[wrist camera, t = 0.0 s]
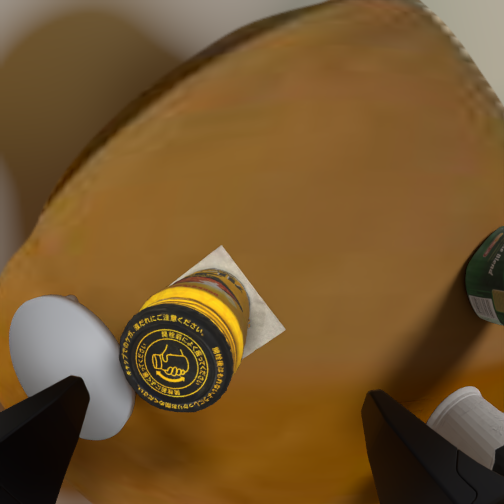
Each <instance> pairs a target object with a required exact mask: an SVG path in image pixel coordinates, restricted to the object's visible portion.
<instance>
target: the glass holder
mask: <svg viewBox="0 0 504 504" xmlns="http://www.w3.org/2000/svg"><path fill="white" fill-rule="evenodd" d="M427 425H428V426H429V427H430V428H432V429H433V430H434V431H436V432H437V433H438V434H440V435H441V436H442V437H444V438H445V439H446V440H448V441H449V442H450V443H452V444H453V445H454V446H456V447H457V450H458V449H460V450H461V451H463V452H464V453H465V454H467V455H468V456H470V457H471V458H472V459H474V460H475V461H477V462H478V463H480V464H482V465H483V466H485V467H487V468H488V469H490V470H492V471H494V472H496V473H498V474H500V475H501V476H503V477H504V413H501V412H500V411H499V410H498V409H496V408H495V407H494V406H492V405H491V404H490V403H489V402H487V401H486V400H485V399H483V398H482V396H481V393H480V392H479V390H478V389H477V388H475V387H472V386H468V387H464V388H461V389H459V390H457V391H455V392H454V393H452V394H451V395H449V396H448V397H447V398H446V399H445V400H444V401H443V402H442V403H441V404H440V405H439V406H438V407H437V408H436V409H435V411H434V412H433V413H432V415H431V416H430V418H429V420H428V422H427Z"/></svg>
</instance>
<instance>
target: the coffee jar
mask: <svg viewBox="0 0 504 504" xmlns="http://www.w3.org/2000/svg"><path fill="white" fill-rule="evenodd" d="M465 282H466V290H467V294H468V298H469V301H470V303H471V305H472V307H473V309H474V311H475V313H476V314H477V315H478V316H479V317H480V318H481V319H484V320H486V321H489V322H492V323H496V324H499V325H503V326H504V226H502V227H499V228H498V229H497V230H495V231H494V232H493V233H492V234H491V235H490V236H489V237H488V238H487V239H486V240H485V241H484V243H483V244H482V245H481V246H480V247H479V249H478V250H477V251H476V253H475V254H474V256H473V257H472V259H471V260H470V262H469V264H468V266H467V269H466V279H465Z"/></svg>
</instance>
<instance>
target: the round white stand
mask: <svg viewBox="0 0 504 504" xmlns="http://www.w3.org/2000/svg"><path fill="white" fill-rule="evenodd" d="M9 345H10V353H11V359H12V363H13V366H14V369H15V372H16V375H17V377H18V379H19V381H20V383H21V385H22V387H23V389H24V391H25V392H26V394H27V395H28V397H31V396H33V395H34V394H36V393H38V392H40V391H42V390H44V389H46V388H48V387H49V386H51V385H53V384H55V383H57V382H59V381H61V380H62V379H64V378H66V377H68V376H70V375H74V376H79V377H81V378H82V379H83V380H84V383H85V385H86V387H87V390H88V392H89V394H90V402H89V405H88V409H87V412H86V415H85V419H84V422H83V426H82V430H81V433H80V436H79V437H80V438H83V439H88V440H103V439H107V438H110V437H112V436H114V435H116V434H117V433H118V432H119V431H120V430H121V429H122V427H123V426H124V424H125V423H126V422H127V420H128V419H129V417H130V416H131V413H132V411H133V408H134V404H135V390H134V389H133V388H132V387H131V386H130V385H129V383H128V381H127V380H126V378H125V375H124V372H123V370H122V367H121V364H120V361H119V347H120V345H119V343H118V342H117V340H116V338H115V337H114V335H113V334H112V333H111V332H110V330H109V329H108V328H107V326H106V325H105V324H104V323H103V322H102V321H101V320H100V319H99V318H98V317H97V316H96V315H95V314H94V313H93V312H92V311H90V310H89V309H88V308H86V307H85V306H84V305H82V304H80V303H79V302H78V299H77V298H76V297H75V296H74V295H68V296H61V295H44V296H41V297H37V298H34V299H31V300H28V301H27V302H25V303H24V304H22V305H21V306H20V307H19V309H18V310H17V311H16V313H15V315H14V317H13V319H12V323H11V326H10V333H9Z"/></svg>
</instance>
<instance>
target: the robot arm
mask: <svg viewBox="0 0 504 504" xmlns="http://www.w3.org/2000/svg"><path fill="white" fill-rule="evenodd" d="M89 402H90V394H89V392H88V390H87V387H86V385H85V383H84V380H83V379H82V378H81V377H79V376H74V375H70V376H68V377H66V378H64V379H62V380H61V381H59V382H57V383H55V384H53V385H51V386H49V387H48V388H46V389H44V390H42V391H40V392H38V393H36V394H34V395H33V396H31V397H29V398H27V399H25V400H23V401H21V402H19V403H17V404H15V405H13V406H12V407H10V408H8V409H6V410H4V411H2V412H0V504H55V503H56V500H57V497H58V494H59V491H60V488H61V485H62V482H63V479H64V476H65V474H66V471H67V468H68V465H69V463H70V460H71V457H72V455H73V452H74V449H75V447H76V444H77V442H78V439H79V436H80V433H81V430H82V426H83V422H84V419H85V415H86V412H87V409H88V405H89ZM361 414H362V421H363V427H364V434H365V441H366V448H367V454H368V458H369V462H370V466H371V470H372V474H373V477H374V481H375V485H376V489H377V493H378V497H379V501H380V504H504V477H503V476H501V475H500V474H498V473H496V472H494V471H492V470H490V469H488V468H487V467H485V466H483V465H482V464H480V463H478V462H477V461H475V460H474V459H472V458H471V457H470V456H468V455H467V454H465V453H464V452H463V451H461V450H460V449H458V450H457V447H456V446H454V445H453V444H452V443H450V442H449V441H448V440H446V439H445V438H444V437H442V436H441V435H440V434H438V433H437V432H436V431H434V430H433V429H432V428H430V427H429V426H428V425H427V424H425V423H424V422H423V421H421V420H420V419H419V418H417V417H416V416H415V415H414V414H412V413H411V412H410V411H408V410H407V409H406V408H405V407H403V406H402V405H401V404H399V403H398V402H397V401H396V400H394V399H393V398H392V397H390V396H389V395H388V394H387V393H385V392H384V391H383V390H381V389H378V390H371V391H368V393H367V395H366V398H365V401H364V404H363V407H362V411H361Z"/></svg>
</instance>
